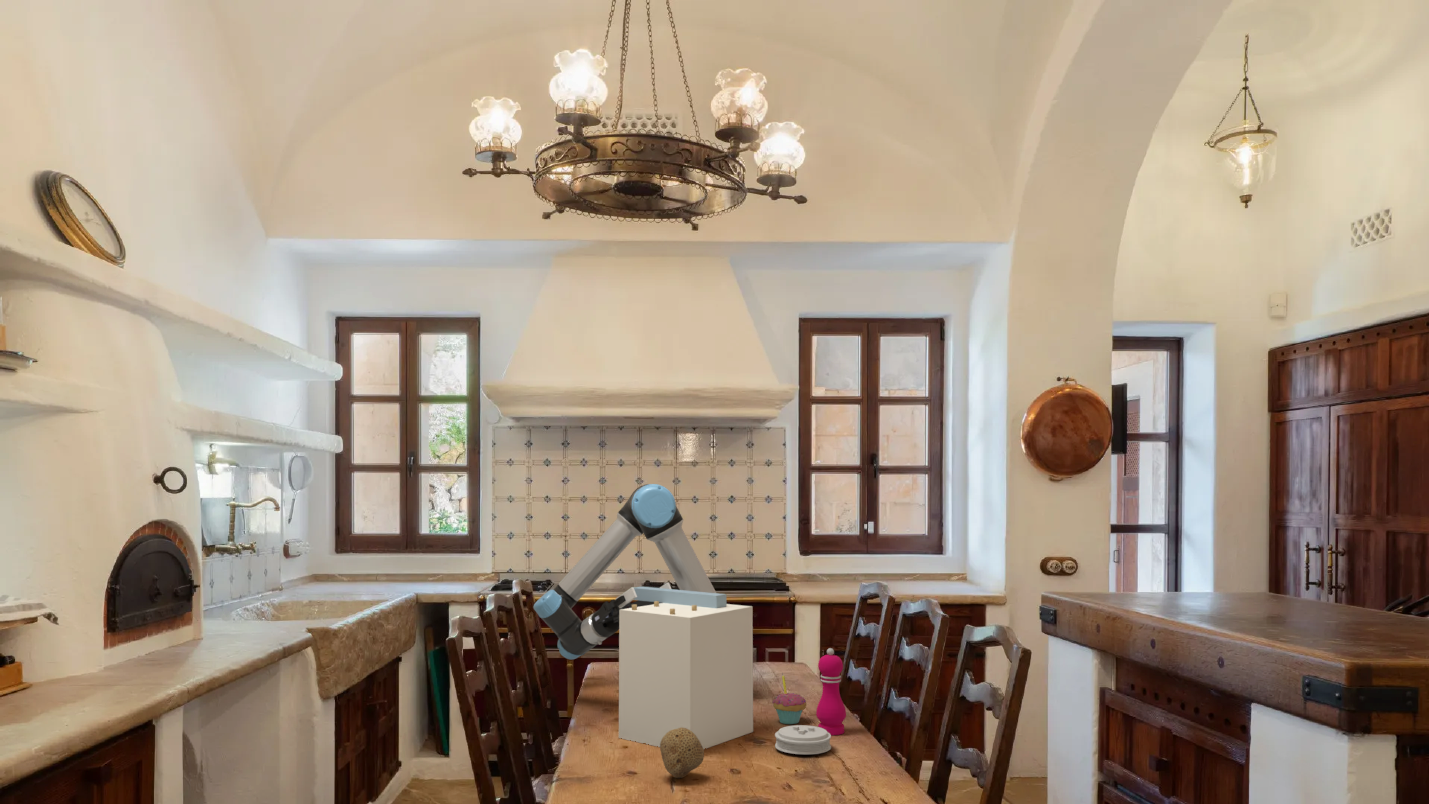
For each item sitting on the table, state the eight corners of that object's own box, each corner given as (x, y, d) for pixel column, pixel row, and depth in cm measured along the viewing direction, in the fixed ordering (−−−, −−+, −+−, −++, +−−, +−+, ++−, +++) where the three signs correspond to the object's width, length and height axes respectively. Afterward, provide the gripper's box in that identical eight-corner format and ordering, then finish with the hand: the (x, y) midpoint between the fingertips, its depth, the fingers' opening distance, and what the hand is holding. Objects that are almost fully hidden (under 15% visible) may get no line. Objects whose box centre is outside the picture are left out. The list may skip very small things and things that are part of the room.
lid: (786, 760, 211) (785, 737, 211) (767, 745, 223) (767, 723, 224) (839, 756, 214) (839, 733, 215) (818, 741, 227) (818, 719, 227)
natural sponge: (703, 770, 203) (703, 722, 204) (704, 784, 194) (704, 733, 195) (660, 771, 203) (660, 722, 204) (659, 784, 194) (659, 734, 195)
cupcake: (767, 723, 242) (767, 674, 243) (781, 716, 250) (781, 669, 250) (799, 727, 238) (798, 678, 239) (812, 720, 246) (811, 672, 246)
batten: (631, 599, 251) (631, 587, 251) (641, 598, 254) (641, 586, 254) (716, 608, 233) (716, 595, 234) (726, 606, 237) (726, 594, 237)
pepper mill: (845, 736, 230) (844, 651, 231) (814, 735, 231) (814, 650, 233) (847, 729, 237) (846, 646, 238) (817, 727, 238) (817, 645, 240)
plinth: (618, 737, 229) (619, 604, 231) (683, 718, 248) (683, 595, 250) (690, 754, 215) (690, 612, 218) (753, 731, 234) (752, 601, 237)
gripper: (638, 631, 268) (689, 598, 257) (572, 644, 248) (624, 608, 238) (628, 607, 271) (678, 572, 260) (562, 617, 251) (613, 580, 241)
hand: (652, 589), depth 249 cm, fingers open, 13 cm apart
